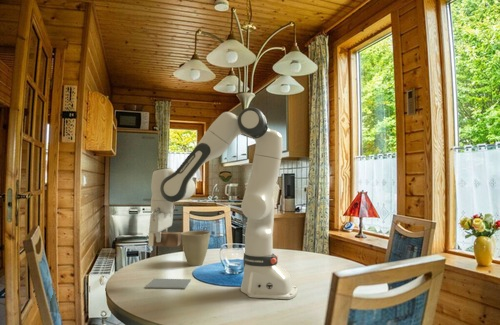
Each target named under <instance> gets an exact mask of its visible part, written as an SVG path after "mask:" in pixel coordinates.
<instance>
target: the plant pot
mask: <svg viewBox="0 0 500 325" xmlns="http://www.w3.org/2000/svg"><path fill="white" fill-rule="evenodd" d="M210 237H211V232H210V231H207V230H189V231H183V232H181V245H182V248H183V253H184V256H185V259H186V262H187V265H188V266H190V267H191V266H192V267H197V266H201V265H203V263H204V262H205V258H206V255H207V252H208V249H209V244H210V243H209V242H210Z"/></svg>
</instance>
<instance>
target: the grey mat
mask: <svg viewBox="0 0 500 325" xmlns="http://www.w3.org/2000/svg"><path fill="white" fill-rule="evenodd" d="M190 283H191V278H153V279H151V281H150V282H148V283H147V285H145V286H144V289H150V290H151V289H155V290H156V289H157V290H159V289H160V290H186V288H187V287H188V286H189V284H190Z"/></svg>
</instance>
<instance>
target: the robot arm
mask: <svg viewBox="0 0 500 325" xmlns="http://www.w3.org/2000/svg"><path fill="white" fill-rule="evenodd" d="M267 121H268V120H267V117H266V115H264V113H263V112H262V111H261V110H260V109H259V108H256V107H253V106H251V107H250V106H249V107H246V108H244V109H242V110H241V111H240V113H239V114H238V115H236V114H235V113H233V112H230V111H224V112H222V113H221V114H220V115H219V116H218V117H217V118H215V120H214V121H213V122H212V123H211V125H210V126H209V127H208V128H207V130H206V131H205V133H204V134H203V136H202V137H201V139H200V140H199V141H198V143H196V145H195V147H194V148H193V149H192V151H191V152H190V153H189V155H188V156H187V157H186V158H185V159H184V160H183V162H181V164H180V166H179V167H178V168H177V169H176V170H173V169H172V168H170V167H163V168H158V169H157V168H156V170H154V171H153V172H152V176H151V185H150V186H151V187H150V188H151V189H150V191H151V199H150V212H151V214H150V219H149V233H155V235H156V242H161V241H162V237H161V232H168V228H170V227H172V226H173V221H174V219H173V218H174V210H175V204H174V203H176V202H179V201H183V200H186V199H189V198H191V197H192V196H194V194H195V191H196V189H197V186H196V182H195V180H194V179H193V177H194V175H195V174H197V172H198V171H199V169H200V168H201V167H202V166H203V165H204V164H205V163H207V162H209V161H211V160H214V159H217V158H219V157H221V155H223V154H224V153H225V152H226V150H228V148H229V147H230V145H231V144H232V143H233V142H234V140H235V139H236V138H237V137H238V136H240V135H241V136H243V137H246V138H249V139H254V141H255V149H254V154H253V159H252V164H251V170H250V175H249V178H248V180H247V184H246V188H245V191H244V194H243V199H242V200H241V206H240V208H241V211H242V214H243V215H244V216H245V217H246V218H247V220H246V221H247V222H246V226H245V227H246V228H245V231H244V253H243V260H242V261H243V264H242V265H243V277H242V280H241V282H242V283H241V284H240V285H241V286H240V288H239V289H240V291H241V292H242V293H243V294H245V295H247V296H248V297H249V298H256V299H257V298H258V299H259V298H260V299H275V300H291V299H293V298H295V297H296V296H297V295H298V293H299V290H298V289H299V288H298V287H297V286H296V285H294V284H293V281H292V277H291V274H290V273H289V272H288V271H287V270H286V269H285V268H283V267H282V266H281V265H280V264H278V259H279V258H278V257H279V256H278V254H277V255H275V254H274V253H273V250H274V247H273V245H274V244H273V242H274V241H273V239H274V238H273V237H274V236H273V234H274V233H273V232H274V224H275V223H274V221H275V198H274V193H275V190H276V185H277V182H278V178H279V175H280V174H279V173H280V167H281V163H282V157H283V146H284V139H283V135H282V134H281V133H280V131H278V130H275V129H271V128H269V126H268V122H267Z"/></svg>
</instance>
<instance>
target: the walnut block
mask: <svg viewBox="0 0 500 325" xmlns="http://www.w3.org/2000/svg"><path fill="white" fill-rule="evenodd" d="M181 233H182V232H181V231H167V232H162V231H161V237H162V241H161V242H156V235H155V233H150V232H149V233H148V244H147V245H148V247H173V248H174V247H176V248H177V247H179V246H180V245H182V239H181Z"/></svg>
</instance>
